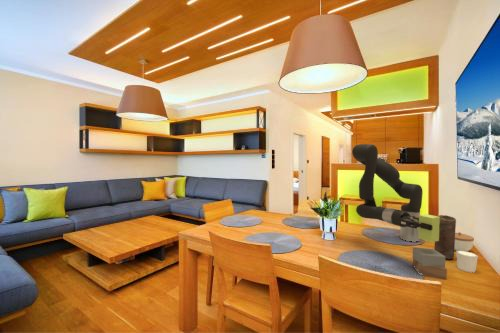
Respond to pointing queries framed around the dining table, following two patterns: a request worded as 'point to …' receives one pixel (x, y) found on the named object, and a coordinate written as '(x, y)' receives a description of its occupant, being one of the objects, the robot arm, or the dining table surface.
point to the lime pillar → (429, 234)
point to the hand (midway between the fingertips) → (435, 227)
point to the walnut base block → (431, 270)
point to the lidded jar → (463, 242)
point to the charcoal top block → (429, 257)
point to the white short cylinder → (466, 261)
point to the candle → (446, 237)
